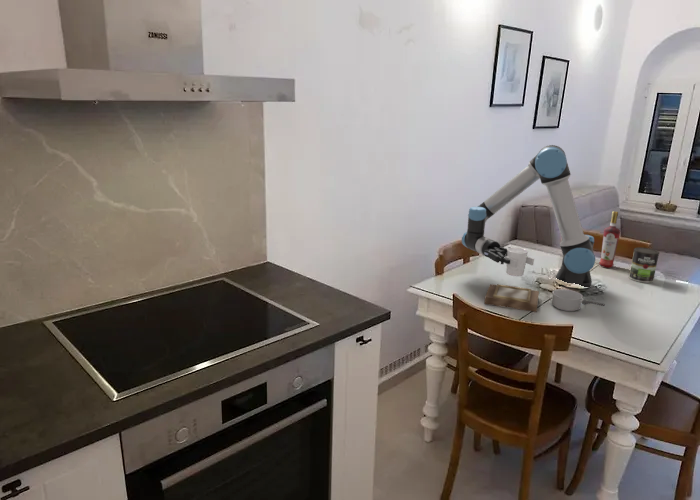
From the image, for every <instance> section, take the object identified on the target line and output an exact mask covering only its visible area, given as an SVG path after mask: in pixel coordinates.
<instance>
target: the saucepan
mask: <svg viewBox="0 0 700 500" xmlns="http://www.w3.org/2000/svg"><path fill="white" fill-rule="evenodd" d="M551 298H552V299H551V305H552V306H553V307H555V308H556V309H558V310H561V311H565V312H574V311H578V310H580V309H581V305H589V304H591V305H595V306H601V307H605V306H606V305H605V303H601V302H597V301H592V300H586V299H583V298H584V295H583V294H581V293H580V292H578V291H575V290H571V289H566V288H565V289H564V288H561V289H560V288H558V289H557V288H556V289H553V290H552V297H551Z"/></svg>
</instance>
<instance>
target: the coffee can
mask: <svg viewBox="0 0 700 500" xmlns="http://www.w3.org/2000/svg"><path fill="white" fill-rule="evenodd" d="M632 255H633V256H632V260H631V266H630V271H629V276H628V278H629V279H630V280H632V281H634V282H638V283H644V284H650V283H653V282H654V279H655V275H656V269H657V265H658V262H659V261H658V259H659V255H660V251H658V250H657V249H653V248H650V247H635V248H633V254H632Z"/></svg>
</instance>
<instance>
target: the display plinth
mask: <svg viewBox="0 0 700 500" xmlns="http://www.w3.org/2000/svg"><path fill="white" fill-rule="evenodd" d="M539 294H540V291H539V290H535V289H532V288H526V287H521V286H520V287H518V286H513V285H505V284H499V283H498V284H493V283H492V284H491V283H490V284H489V286H488V289H487V291H486V294H485V296H484V304H485V305H489V306H497V307H502V308H509V309H515V310H516V309H517V310H521V311H529V312H535V313H537V309H538V302H539Z"/></svg>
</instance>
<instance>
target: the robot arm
mask: <svg viewBox="0 0 700 500" xmlns="http://www.w3.org/2000/svg"><path fill="white" fill-rule="evenodd" d="M567 160H568V159H567V155H566V153H565V151H564V149H563V148H562V147H560V146H559V145H553V144H551V145H550V144H549V145H546V146H544V147H543V148H541V149H540V150H539V151H538V153H537V154H536V155H535V156H534V157H533V158H532V159H530V160H529V161H528V165H527V166H526V167H524V169H522V170H521V171H519V173H517V174H516V175H515V176H513V177H512V178H510V180H508V181H507V182H506V183H505V184H503V185H502V186H501V187H500V188H499V189H497V190H496V191H495V192H494V193H493V194H491V195H490V196H489V197H488V198H486V199H485V200H484V201H483V202H482V203H480V204H479V205H477V206H471V207H469V210H468V215H467V216H468V217H467V218H468V219H467V229H466V231H465V232H464V233H463V235H462V236H461V244H462V245H463V246H464V247H466V249H468V250H471V251H474V252H476V253H478V254H481V255H482V256H484V257H486V258H488V259H491V261H493V262H495V263H498V264H499V263H500V265H504V264H505V265H506V264H508V265H510V266H512V267H515V268H517V262H518V261H516V260H514V259H512V258H509V257H507V249H508V248H512V247H507V248H505V247H504V246H501V244H500V243H499V242H498V241H495V240H493V239H491V238H488V237H486V236H485V228H486V223H487V221H488V220H489V219H490V218H492V217H493V216H494V215H495V214H497V212H499V211H500V210H501V209H502V208H504V207H506V205H508V204H509V203H510V202H511V201H513V200H514V199H516V197H518V196H519V195H520V194H522V193H523V192H525V190H527V189H528V188H529V187H531V186H532V185H533V184H535V183H536V182H537V181H538V180H540V182H541V185H544V186H545V187H546V189H547V193H548V196H549V199H550V204H551V206H552V209H553V212H554V216H555V219H556V220H555V221H556V222H557V227H558V230H559V234H560V237H561V239H562V240H561V241H560V243H559V247H560V249H561V252H562V259H561V260H562V262H561V265H560V267H559V270H558V271H557V273H556V274H555V279H556V278H557V279H559V280H562V281H564V282H567V283H575V284H579V285H581V286H584V287H590V286H591V287H592V283H593V282H592V276H591V270H592V269H593V267H594V266H595V264H596V255H595V253H594V244H595V237H594V236H592V235H589V234H585V233H584V230H583V227H582V223H581V220H580V216H579V212H578V210H577V207H576V202H575V200H574V196H573V193H572V189H571V185H570V182H569V179H570V177H571V175H572V174H571V171H570V168H569V164H568V161H567ZM534 262H535V258H533V257H531V256H528V255H527V259H526V264H527V265H530V266H534ZM591 287H590V288H591Z"/></svg>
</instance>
